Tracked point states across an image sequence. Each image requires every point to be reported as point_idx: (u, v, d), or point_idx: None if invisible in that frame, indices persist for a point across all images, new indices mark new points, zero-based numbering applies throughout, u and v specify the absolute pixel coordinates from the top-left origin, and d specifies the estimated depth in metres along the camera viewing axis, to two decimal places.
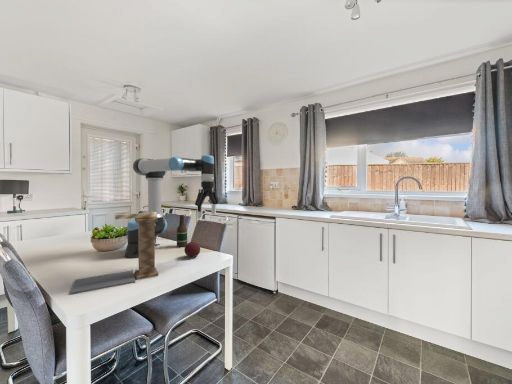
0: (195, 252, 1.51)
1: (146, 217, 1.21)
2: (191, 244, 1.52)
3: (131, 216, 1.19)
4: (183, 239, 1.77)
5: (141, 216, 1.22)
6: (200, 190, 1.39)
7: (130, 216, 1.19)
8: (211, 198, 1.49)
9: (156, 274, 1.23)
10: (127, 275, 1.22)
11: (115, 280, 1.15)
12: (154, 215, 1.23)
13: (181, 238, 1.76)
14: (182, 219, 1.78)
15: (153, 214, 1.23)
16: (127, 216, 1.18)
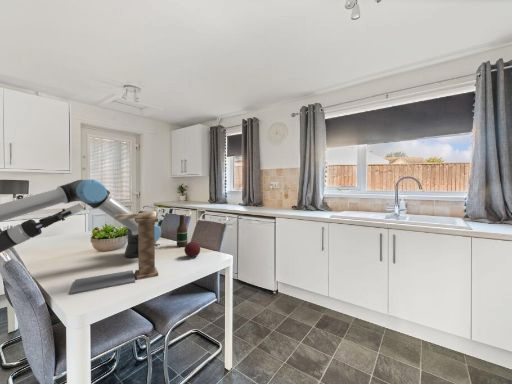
0: (195, 252, 1.51)
1: (146, 217, 1.21)
2: (191, 244, 1.52)
3: (131, 216, 1.19)
4: (183, 239, 1.77)
5: (141, 216, 1.22)
6: (38, 226, 0.99)
7: (130, 216, 1.19)
8: None
9: (156, 274, 1.23)
10: (127, 275, 1.22)
11: (115, 280, 1.15)
12: (154, 215, 1.23)
13: (181, 238, 1.76)
14: (182, 219, 1.78)
15: (153, 214, 1.23)
16: (127, 216, 1.18)
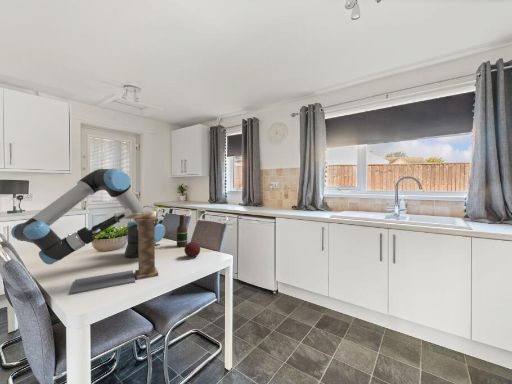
0: (195, 252, 1.51)
1: (146, 217, 1.21)
2: (191, 244, 1.52)
3: (131, 216, 1.19)
4: (183, 239, 1.77)
5: (141, 216, 1.22)
6: (97, 230, 1.08)
7: (130, 216, 1.19)
8: None
9: (156, 274, 1.23)
10: (127, 275, 1.22)
11: (115, 280, 1.15)
12: (154, 215, 1.23)
13: (181, 238, 1.76)
14: (182, 219, 1.78)
15: (153, 214, 1.23)
16: (127, 216, 1.18)
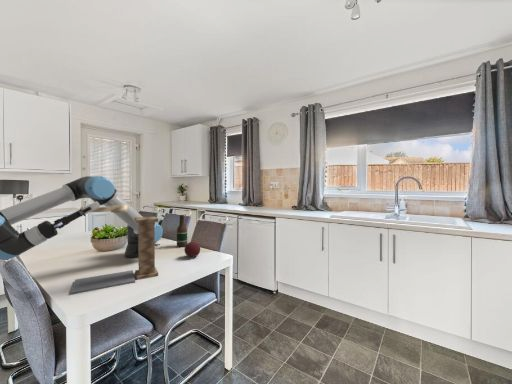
0: (195, 252, 1.51)
1: (115, 210, 1.14)
2: (191, 244, 1.52)
3: (98, 209, 1.12)
4: (183, 239, 1.77)
5: (110, 209, 1.14)
6: (59, 224, 1.01)
7: (97, 209, 1.12)
8: None
9: (156, 274, 1.23)
10: (127, 275, 1.22)
11: (115, 280, 1.15)
12: (124, 208, 1.16)
13: (181, 238, 1.76)
14: (182, 219, 1.78)
15: (123, 207, 1.16)
16: (94, 209, 1.11)
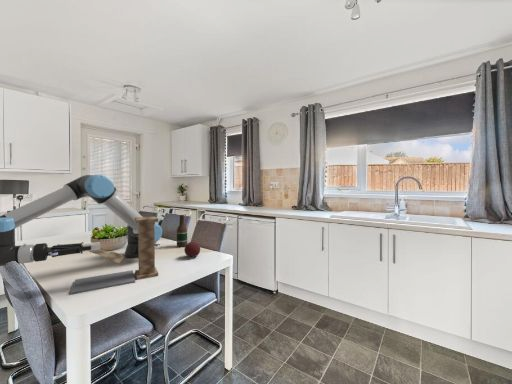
0: (195, 252, 1.51)
1: (110, 259, 1.14)
2: (191, 244, 1.52)
3: (96, 251, 1.12)
4: (183, 239, 1.77)
5: (106, 255, 1.14)
6: (54, 254, 1.00)
7: (96, 251, 1.12)
8: None
9: (156, 274, 1.23)
10: (127, 275, 1.22)
11: (115, 280, 1.15)
12: (119, 260, 1.16)
13: (181, 238, 1.76)
14: (182, 219, 1.78)
15: (119, 259, 1.16)
16: (93, 250, 1.12)
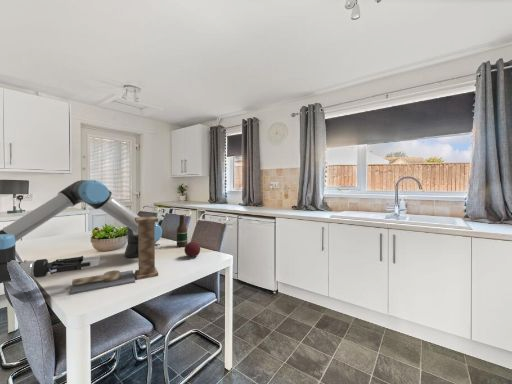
0: (195, 252, 1.51)
1: (107, 280, 1.13)
2: (191, 244, 1.52)
3: (91, 280, 1.12)
4: (183, 239, 1.77)
5: (102, 278, 1.14)
6: (52, 270, 1.00)
7: (89, 280, 1.11)
8: (70, 262, 1.10)
9: (156, 274, 1.23)
10: (127, 275, 1.22)
11: None
12: (117, 277, 1.16)
13: (181, 238, 1.76)
14: (182, 219, 1.78)
15: (115, 276, 1.15)
16: (86, 280, 1.11)
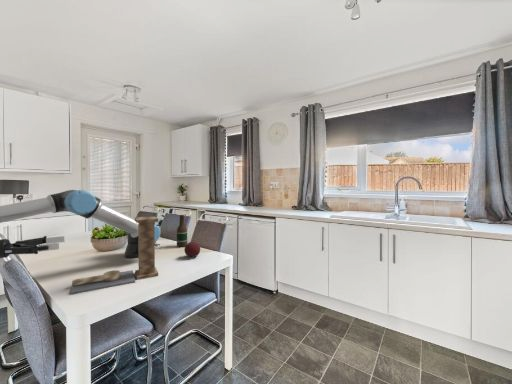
0: (195, 252, 1.51)
1: (107, 280, 1.13)
2: (191, 244, 1.52)
3: (90, 280, 1.12)
4: (183, 239, 1.77)
5: (102, 279, 1.14)
6: (7, 251, 0.92)
7: (89, 280, 1.11)
8: (33, 243, 1.05)
9: (156, 274, 1.23)
10: (127, 275, 1.22)
11: None
12: (116, 276, 1.16)
13: (181, 238, 1.76)
14: (182, 219, 1.78)
15: (115, 276, 1.15)
16: (86, 281, 1.11)
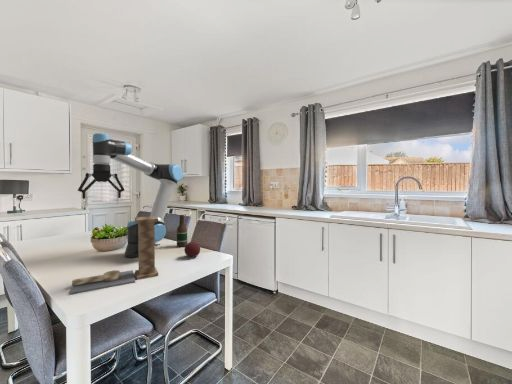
0: (195, 252, 1.51)
1: (107, 280, 1.13)
2: (191, 244, 1.52)
3: (90, 280, 1.12)
4: (183, 239, 1.77)
5: (102, 279, 1.14)
6: None
7: (89, 280, 1.11)
8: None
9: (156, 274, 1.23)
10: (127, 275, 1.22)
11: None
12: (116, 277, 1.16)
13: (181, 238, 1.76)
14: (182, 219, 1.78)
15: (115, 276, 1.15)
16: (86, 280, 1.11)
